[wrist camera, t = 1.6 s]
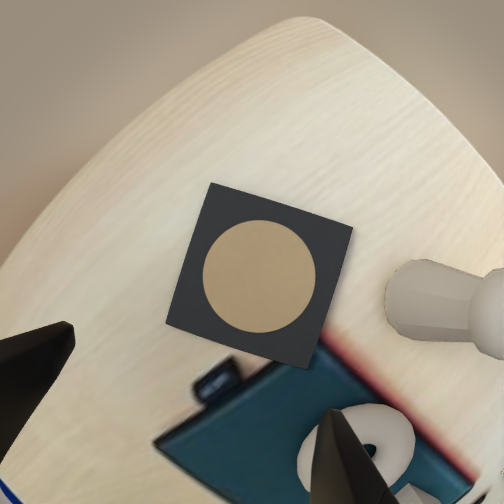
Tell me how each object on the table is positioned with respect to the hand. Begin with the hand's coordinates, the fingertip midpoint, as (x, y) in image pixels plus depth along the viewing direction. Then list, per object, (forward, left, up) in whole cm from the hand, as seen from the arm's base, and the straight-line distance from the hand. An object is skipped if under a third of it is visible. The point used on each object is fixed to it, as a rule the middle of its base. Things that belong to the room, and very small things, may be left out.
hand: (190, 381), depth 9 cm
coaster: (+3, -3, -13) cm, 14 cm away
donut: (-13, -8, -13) cm, 20 cm away
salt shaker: (-1, -14, -13) cm, 19 cm away
